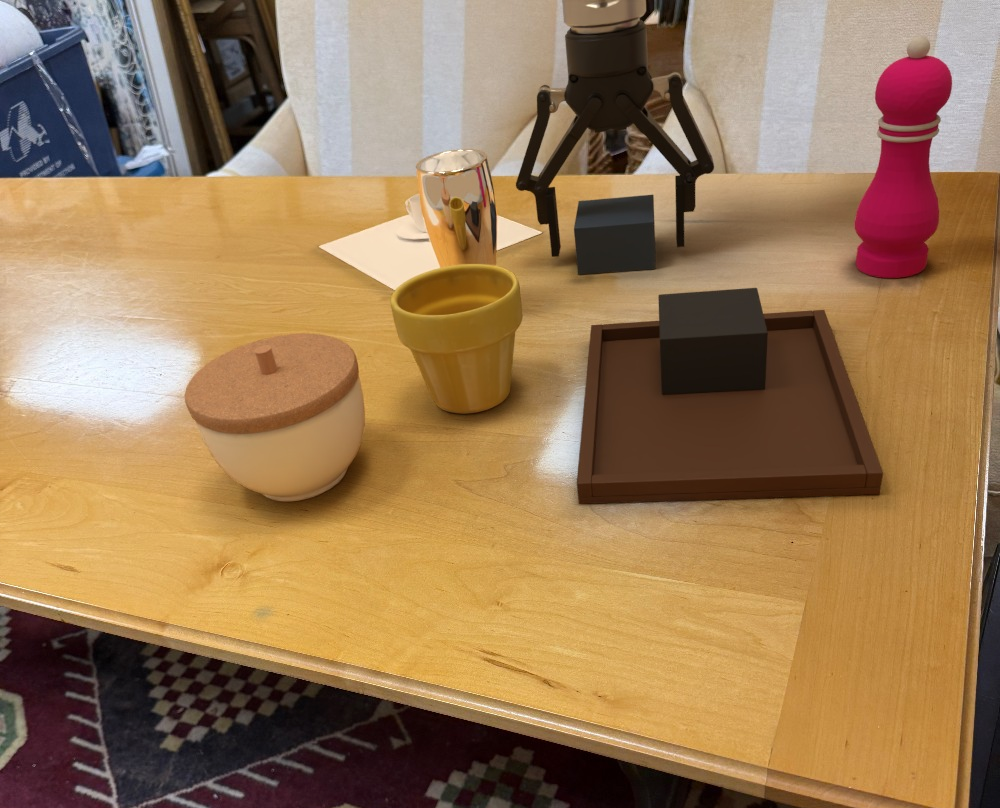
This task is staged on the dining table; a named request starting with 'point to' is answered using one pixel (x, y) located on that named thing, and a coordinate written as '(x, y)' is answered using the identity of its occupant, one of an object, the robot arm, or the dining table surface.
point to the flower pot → (461, 332)
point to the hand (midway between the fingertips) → (617, 247)
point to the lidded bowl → (281, 413)
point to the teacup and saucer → (406, 246)
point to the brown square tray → (723, 423)
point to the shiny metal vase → (459, 207)
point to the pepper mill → (903, 166)
